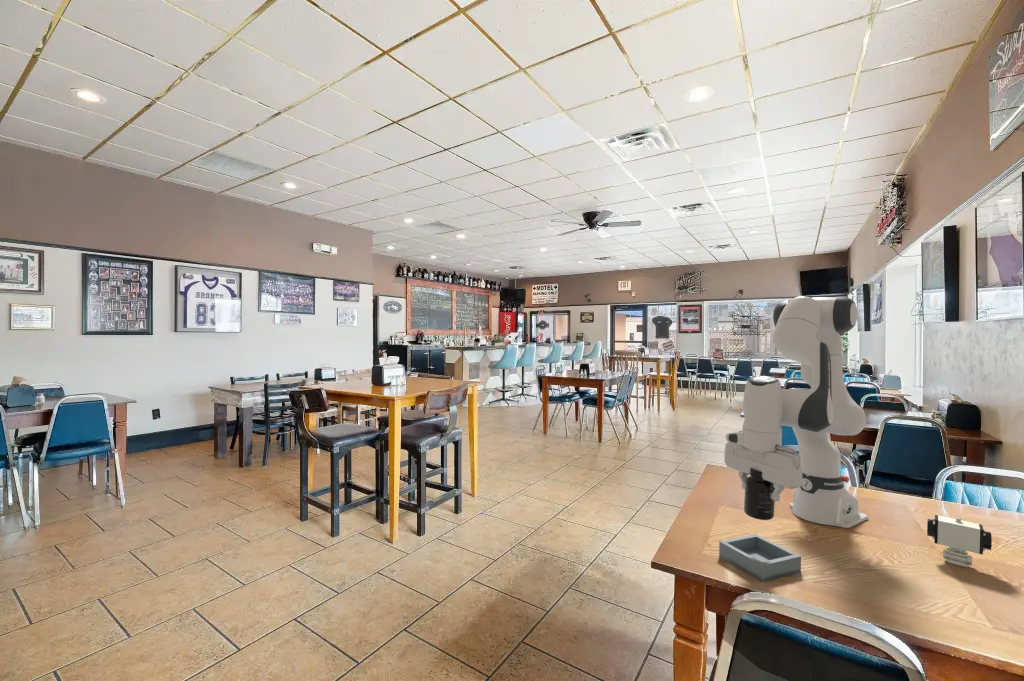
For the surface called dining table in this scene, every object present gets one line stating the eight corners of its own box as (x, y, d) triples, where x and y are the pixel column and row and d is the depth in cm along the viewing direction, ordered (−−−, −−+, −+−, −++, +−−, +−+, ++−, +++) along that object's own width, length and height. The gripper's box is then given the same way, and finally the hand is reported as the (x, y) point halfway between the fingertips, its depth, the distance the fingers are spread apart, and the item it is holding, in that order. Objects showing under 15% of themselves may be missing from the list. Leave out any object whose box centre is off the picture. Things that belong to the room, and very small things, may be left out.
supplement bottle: (738, 509, 118) (740, 464, 118) (763, 509, 119) (765, 464, 118) (753, 521, 112) (756, 473, 111) (780, 520, 112) (782, 473, 111)
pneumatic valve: (990, 575, 111) (992, 527, 111) (926, 559, 119) (927, 514, 119) (988, 567, 115) (990, 520, 115) (926, 551, 123) (927, 508, 123)
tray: (755, 548, 124) (755, 534, 123) (800, 572, 111) (801, 556, 111) (719, 556, 119) (719, 541, 119) (762, 582, 107) (762, 565, 107)
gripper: (809, 449, 106) (808, 508, 106) (738, 431, 125) (737, 481, 125) (790, 452, 104) (789, 511, 104) (720, 433, 123) (719, 483, 123)
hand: (760, 494), depth 115 cm, fingers closed on supplement bottle, 7 cm apart
